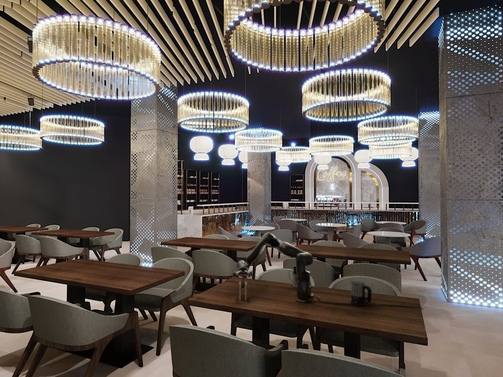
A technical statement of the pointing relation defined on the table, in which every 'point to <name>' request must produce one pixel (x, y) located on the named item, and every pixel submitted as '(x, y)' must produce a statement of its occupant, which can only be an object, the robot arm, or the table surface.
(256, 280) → the table surface
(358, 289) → the milk frother
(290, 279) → the glass holder
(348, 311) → the table surface
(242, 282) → the lever
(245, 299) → the toaster bracket
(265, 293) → the table surface
